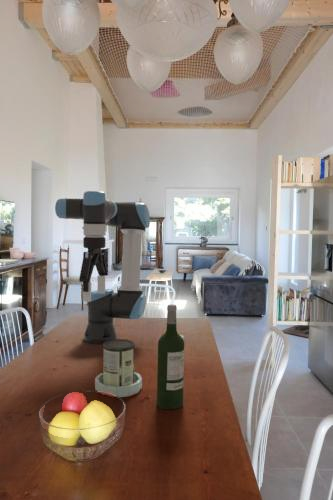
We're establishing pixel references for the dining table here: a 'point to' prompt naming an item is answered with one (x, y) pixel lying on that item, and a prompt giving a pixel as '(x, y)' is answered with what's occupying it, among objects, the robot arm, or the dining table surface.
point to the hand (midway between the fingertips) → (94, 297)
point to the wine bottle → (170, 365)
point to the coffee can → (118, 363)
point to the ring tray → (121, 390)
